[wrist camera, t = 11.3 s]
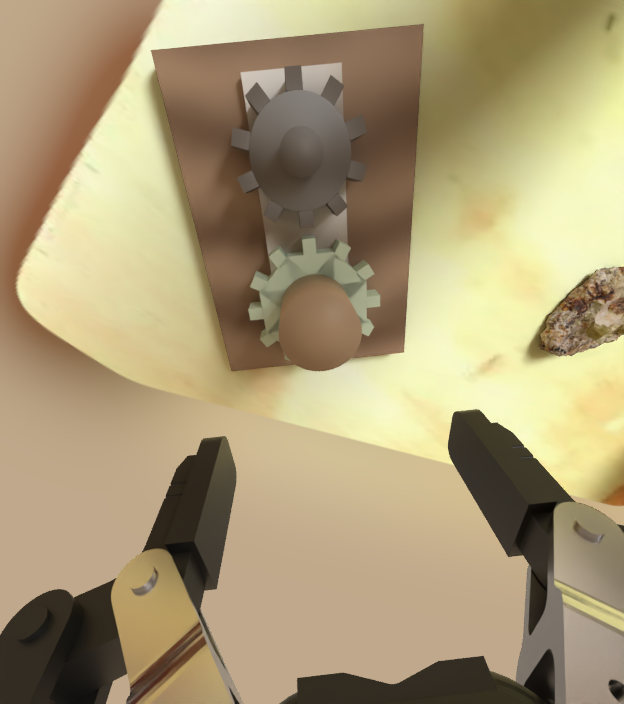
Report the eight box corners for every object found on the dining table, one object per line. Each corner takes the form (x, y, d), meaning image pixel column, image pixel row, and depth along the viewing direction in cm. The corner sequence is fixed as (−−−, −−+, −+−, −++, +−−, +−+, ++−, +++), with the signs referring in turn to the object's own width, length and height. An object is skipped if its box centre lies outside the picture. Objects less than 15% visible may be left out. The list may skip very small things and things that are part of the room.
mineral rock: (665, 239, 24) (707, 319, 26) (620, 242, 28) (658, 310, 30) (531, 319, 27) (575, 387, 29) (509, 311, 32) (548, 370, 33)
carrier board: (160, 59, 19) (109, 9, 14) (414, 35, 19) (462, -25, 14) (234, 362, 30) (222, 401, 24) (398, 344, 30) (422, 379, 24)
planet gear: (239, 242, 22) (221, 261, 17) (375, 228, 23) (405, 242, 17) (262, 361, 27) (254, 408, 21) (374, 349, 27) (397, 392, 22)
